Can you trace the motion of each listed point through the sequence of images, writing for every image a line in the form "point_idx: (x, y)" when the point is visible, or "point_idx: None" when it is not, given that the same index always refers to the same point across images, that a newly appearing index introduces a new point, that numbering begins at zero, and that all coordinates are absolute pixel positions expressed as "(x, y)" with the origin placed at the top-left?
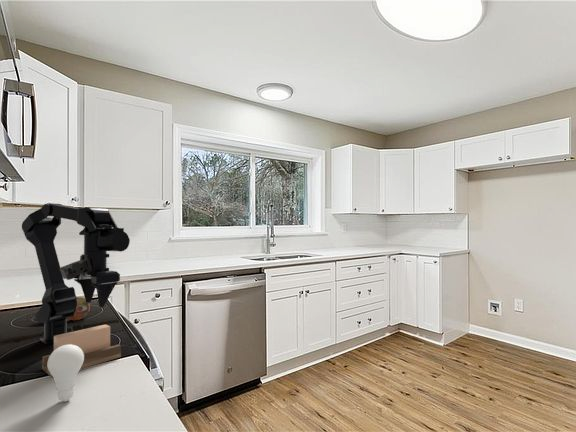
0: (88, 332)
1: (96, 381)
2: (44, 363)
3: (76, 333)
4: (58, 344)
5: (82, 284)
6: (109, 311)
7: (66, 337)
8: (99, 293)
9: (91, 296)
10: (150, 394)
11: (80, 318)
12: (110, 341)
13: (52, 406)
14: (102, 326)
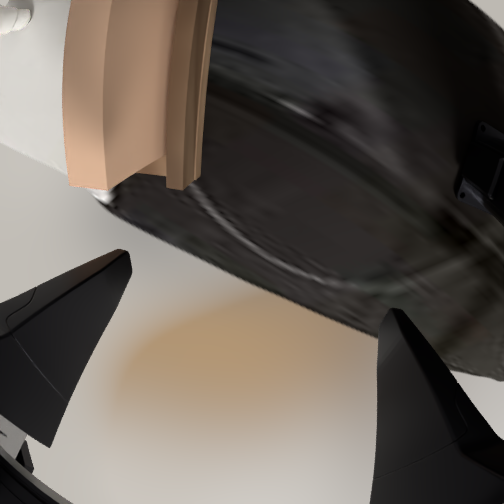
0: (66, 92)
1: (44, 70)
2: None
3: (71, 46)
4: None
5: (462, 459)
6: (491, 372)
7: (73, 10)
8: (10, 301)
9: (381, 369)
10: None
11: None
12: (167, 185)
13: (31, 2)
14: (85, 164)
